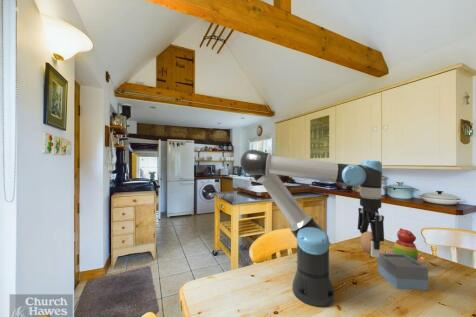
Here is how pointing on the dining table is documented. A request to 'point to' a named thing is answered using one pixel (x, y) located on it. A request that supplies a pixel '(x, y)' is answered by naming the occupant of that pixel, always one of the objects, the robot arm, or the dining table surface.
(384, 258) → the grey square tray
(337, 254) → the dining table surface
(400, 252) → the stacking bear
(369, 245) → the egg
